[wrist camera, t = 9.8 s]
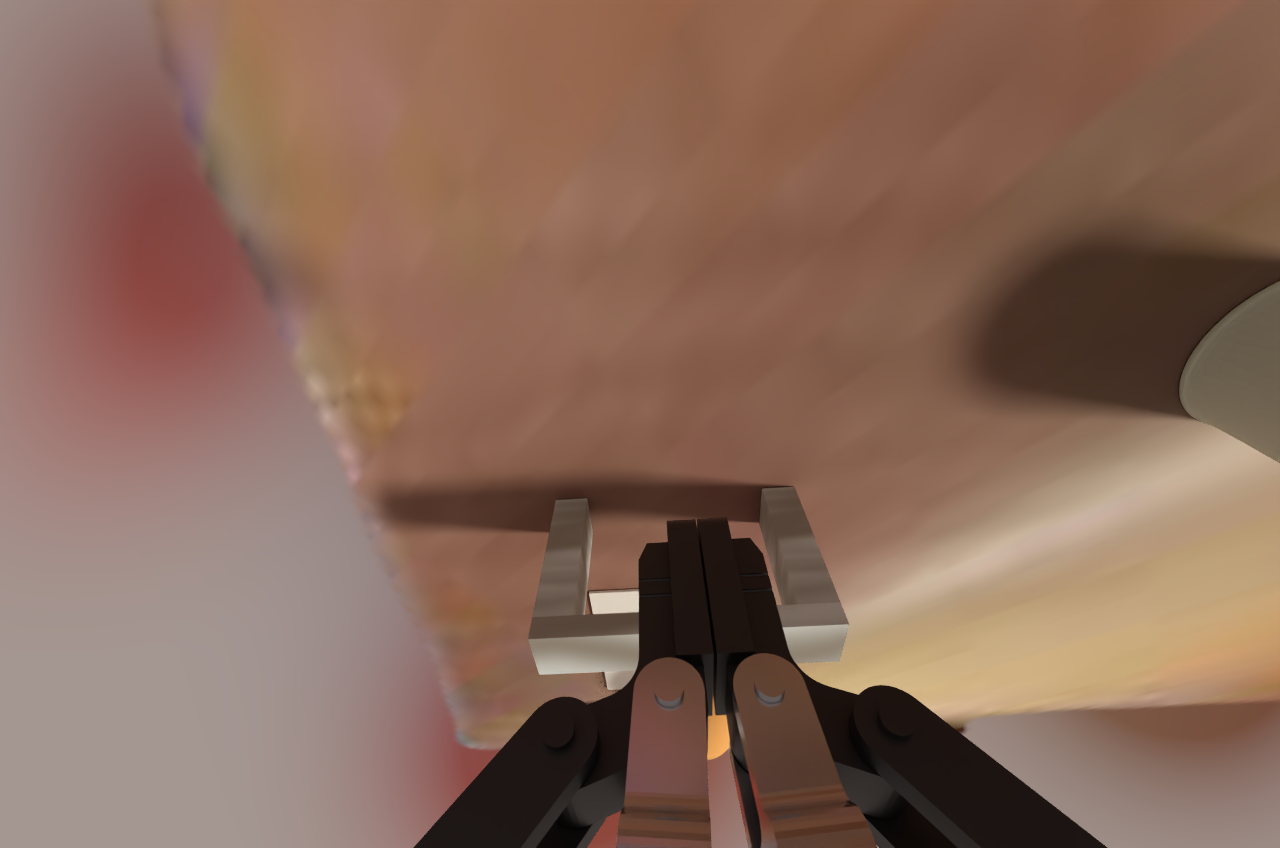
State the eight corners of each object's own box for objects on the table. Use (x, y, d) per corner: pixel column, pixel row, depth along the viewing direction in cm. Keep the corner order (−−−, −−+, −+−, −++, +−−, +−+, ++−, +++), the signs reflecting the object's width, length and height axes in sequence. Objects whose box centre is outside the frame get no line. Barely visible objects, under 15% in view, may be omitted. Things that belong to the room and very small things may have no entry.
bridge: (555, 500, 32) (528, 639, 24) (794, 486, 31) (849, 624, 23) (563, 533, 33) (539, 674, 25) (789, 521, 33) (839, 661, 25)
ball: (662, 671, 45) (658, 683, 39) (730, 667, 44) (735, 678, 39) (669, 749, 43) (665, 773, 37) (739, 745, 42) (747, 769, 37)
